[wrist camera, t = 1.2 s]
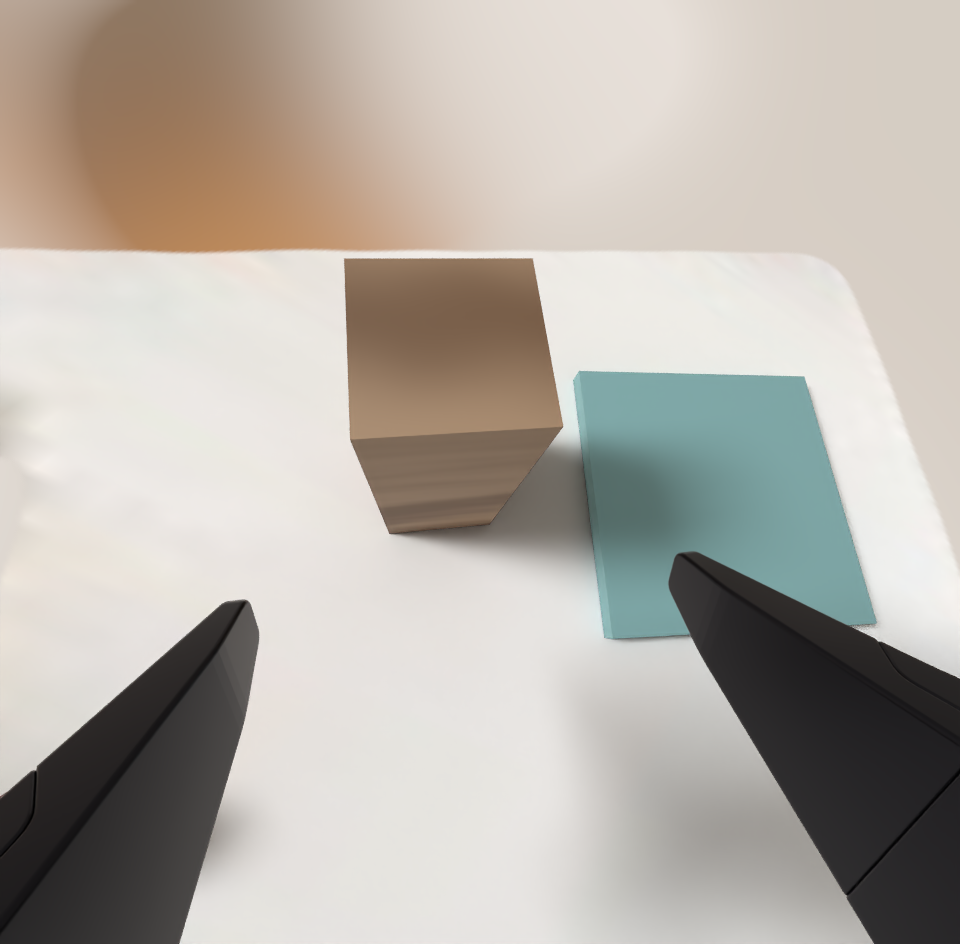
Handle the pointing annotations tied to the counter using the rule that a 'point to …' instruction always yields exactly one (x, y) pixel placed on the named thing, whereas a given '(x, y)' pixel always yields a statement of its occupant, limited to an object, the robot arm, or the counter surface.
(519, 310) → the walnut pillar
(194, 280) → the counter surface
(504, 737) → the counter surface
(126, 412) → the counter surface
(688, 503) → the teal board
